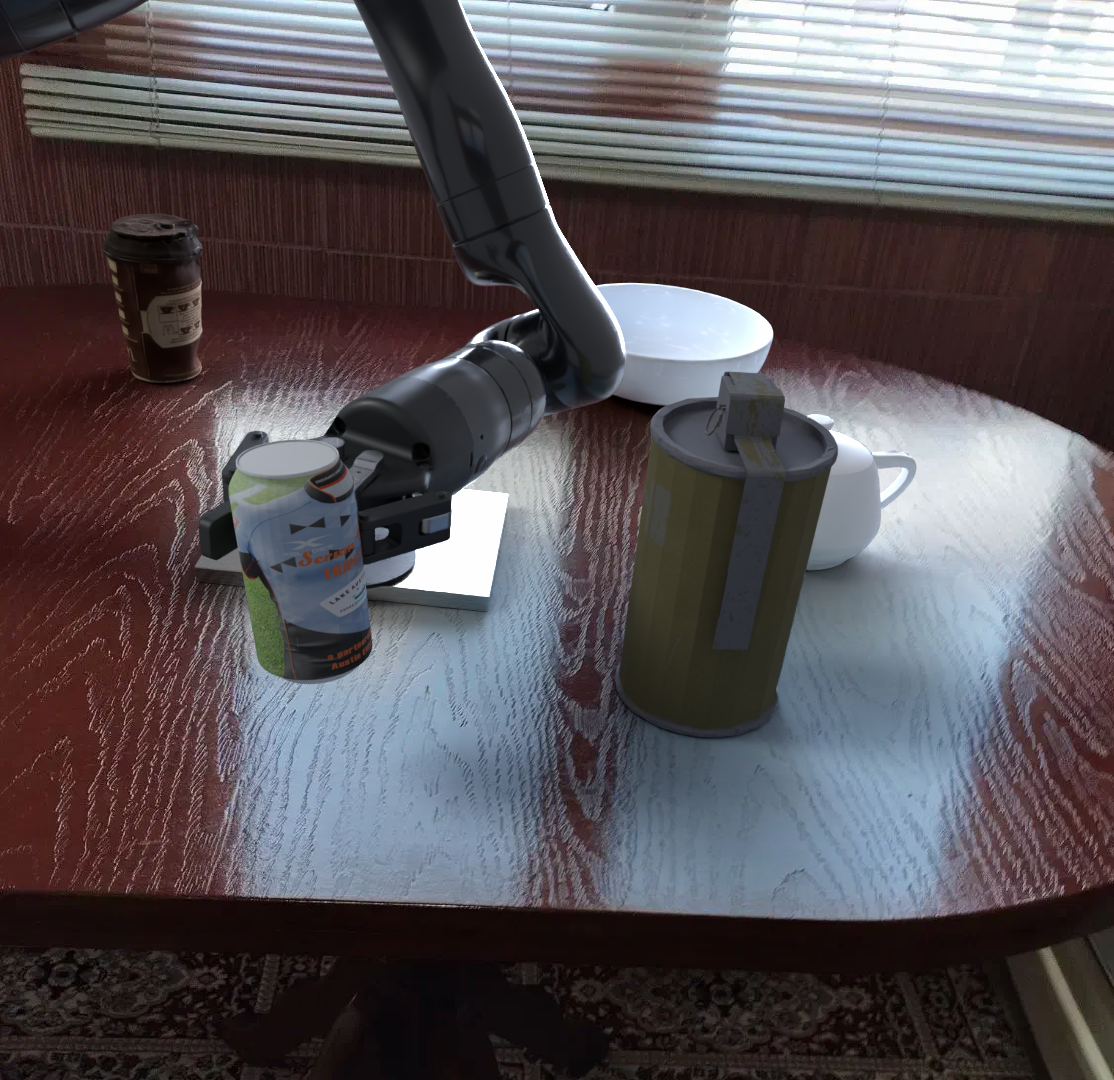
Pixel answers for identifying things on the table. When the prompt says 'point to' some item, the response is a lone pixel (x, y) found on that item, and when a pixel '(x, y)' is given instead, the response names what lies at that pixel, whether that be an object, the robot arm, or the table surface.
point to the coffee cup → (158, 293)
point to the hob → (421, 560)
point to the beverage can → (301, 560)
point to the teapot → (854, 499)
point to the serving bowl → (683, 341)
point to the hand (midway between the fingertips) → (236, 552)
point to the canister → (721, 557)
